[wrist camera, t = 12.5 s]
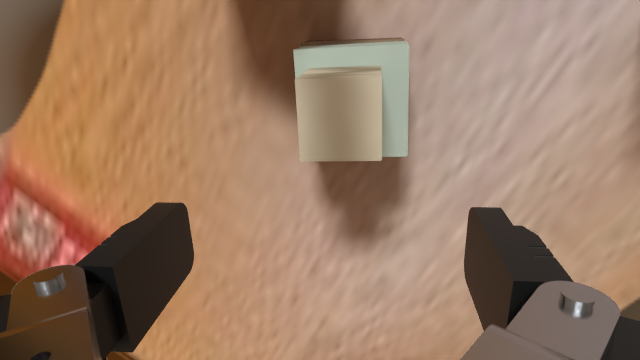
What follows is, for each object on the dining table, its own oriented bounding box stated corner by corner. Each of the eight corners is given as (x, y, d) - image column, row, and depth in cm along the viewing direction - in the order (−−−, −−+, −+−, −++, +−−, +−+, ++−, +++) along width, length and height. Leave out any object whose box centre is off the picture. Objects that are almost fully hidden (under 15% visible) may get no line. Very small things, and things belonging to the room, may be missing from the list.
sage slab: (404, 40, 33) (409, 43, 29) (403, 142, 36) (407, 156, 32) (301, 46, 34) (293, 49, 30) (308, 144, 37) (301, 158, 33)
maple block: (380, 65, 30) (382, 76, 24) (380, 135, 31) (381, 160, 26) (309, 68, 30) (294, 79, 25) (313, 136, 32) (300, 161, 27)
